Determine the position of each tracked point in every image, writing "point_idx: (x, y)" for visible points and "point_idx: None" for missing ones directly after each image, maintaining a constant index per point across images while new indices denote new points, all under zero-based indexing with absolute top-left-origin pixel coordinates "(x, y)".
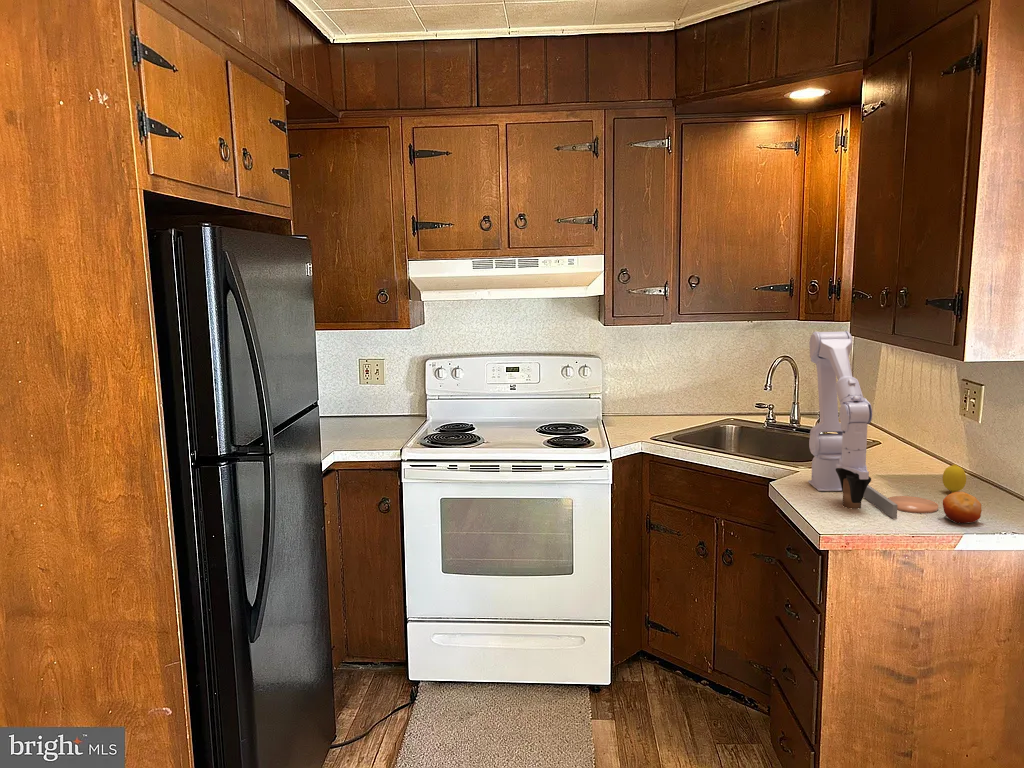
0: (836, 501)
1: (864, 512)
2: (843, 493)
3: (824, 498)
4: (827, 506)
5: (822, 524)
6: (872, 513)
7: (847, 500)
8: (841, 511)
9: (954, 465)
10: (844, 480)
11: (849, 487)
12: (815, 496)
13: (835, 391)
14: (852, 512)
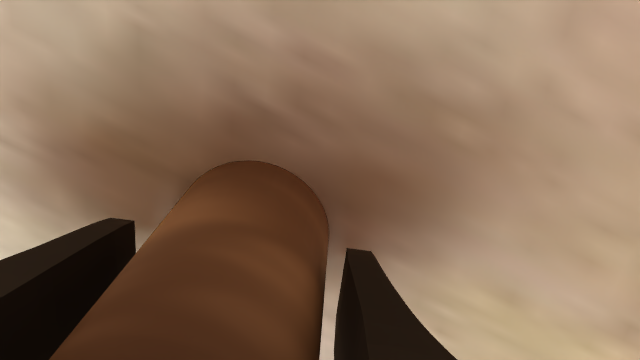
0: (412, 176)
1: None
2: (227, 218)
3: (535, 110)
4: (268, 8)
5: None
6: None
7: (183, 204)
8: (103, 72)
9: None
10: (149, 338)
11: (98, 304)
12: (633, 48)
13: None
14: (78, 155)
